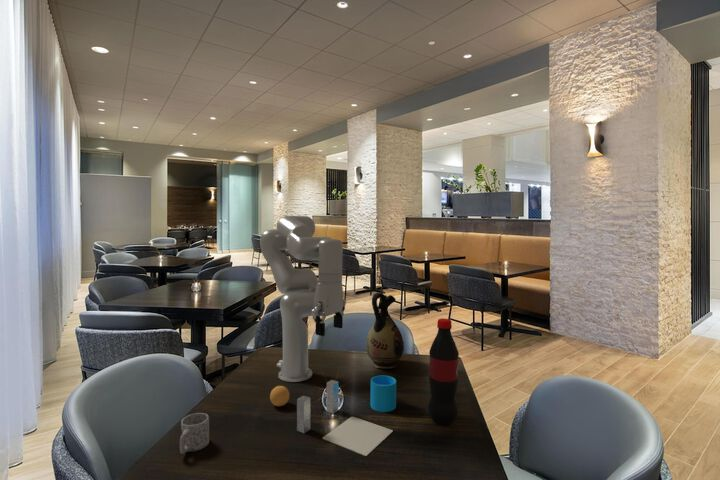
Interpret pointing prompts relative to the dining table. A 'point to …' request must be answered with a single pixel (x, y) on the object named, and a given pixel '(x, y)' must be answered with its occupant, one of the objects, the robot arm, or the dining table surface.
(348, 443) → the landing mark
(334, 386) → the post
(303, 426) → the post
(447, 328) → the cola bottle
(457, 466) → the dining table surface
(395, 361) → the ceramic jug
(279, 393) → the ball
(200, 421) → the mug
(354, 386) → the dining table surface
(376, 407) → the mug
